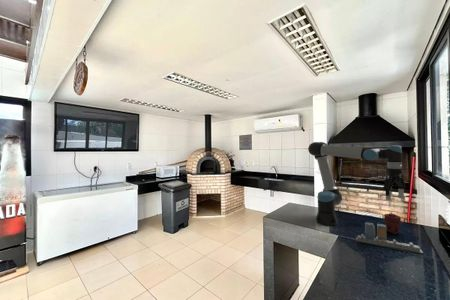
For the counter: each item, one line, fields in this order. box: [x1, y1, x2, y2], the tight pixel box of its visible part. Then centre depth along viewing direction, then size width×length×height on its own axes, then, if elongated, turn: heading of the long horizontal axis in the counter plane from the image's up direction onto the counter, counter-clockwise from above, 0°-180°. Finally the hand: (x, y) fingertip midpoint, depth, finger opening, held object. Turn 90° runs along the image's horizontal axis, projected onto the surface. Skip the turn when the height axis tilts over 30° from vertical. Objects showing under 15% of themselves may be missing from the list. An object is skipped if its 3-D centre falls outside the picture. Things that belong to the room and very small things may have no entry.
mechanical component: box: [382, 212, 403, 235], centre depth 131 cm, size 12×10×10 cm
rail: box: [355, 221, 424, 255], centre depth 114 cm, size 30×5×12 cm, turn 59°
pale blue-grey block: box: [376, 223, 388, 240], centre depth 121 cm, size 5×4×9 cm
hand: (394, 199), depth 131 cm, fingers open, 13 cm apart
